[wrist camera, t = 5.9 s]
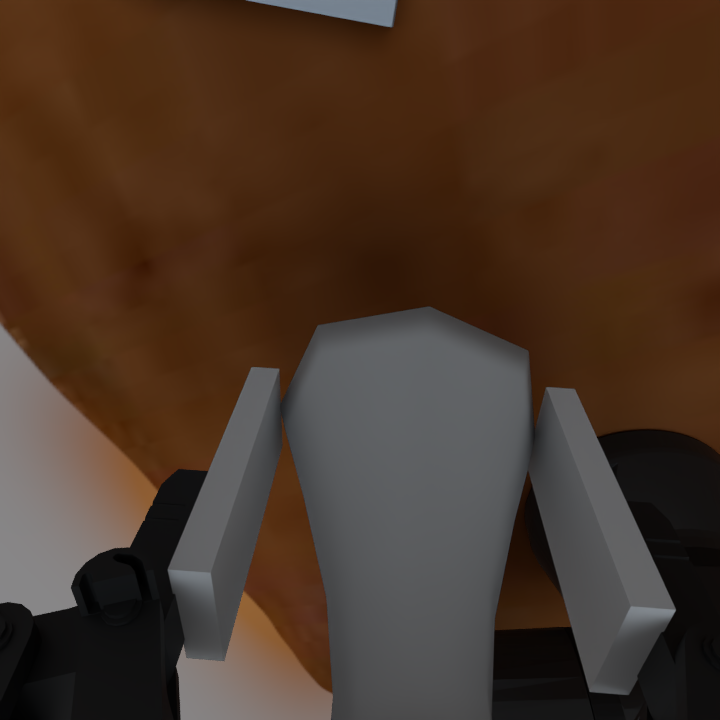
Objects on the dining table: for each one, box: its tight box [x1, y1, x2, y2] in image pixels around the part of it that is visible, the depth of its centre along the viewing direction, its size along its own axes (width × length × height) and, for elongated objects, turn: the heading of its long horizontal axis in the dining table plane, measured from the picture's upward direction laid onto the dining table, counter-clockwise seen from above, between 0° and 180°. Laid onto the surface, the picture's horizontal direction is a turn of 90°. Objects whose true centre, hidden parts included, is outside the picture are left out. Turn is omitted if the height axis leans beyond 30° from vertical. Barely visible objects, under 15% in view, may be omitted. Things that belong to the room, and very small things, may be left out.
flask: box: [280, 307, 535, 720], centre depth 12 cm, size 7×7×10 cm
